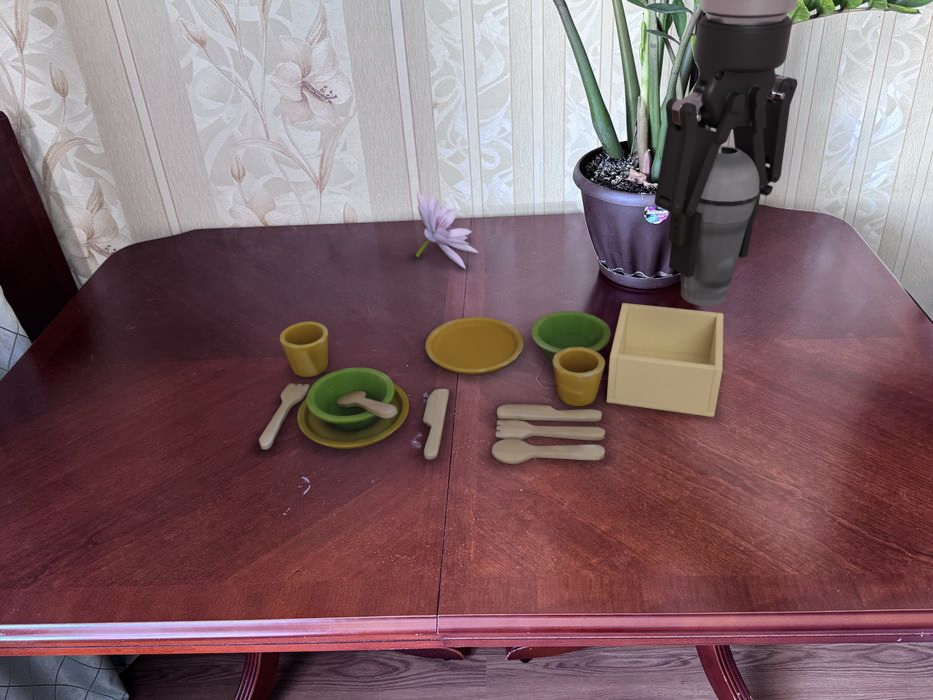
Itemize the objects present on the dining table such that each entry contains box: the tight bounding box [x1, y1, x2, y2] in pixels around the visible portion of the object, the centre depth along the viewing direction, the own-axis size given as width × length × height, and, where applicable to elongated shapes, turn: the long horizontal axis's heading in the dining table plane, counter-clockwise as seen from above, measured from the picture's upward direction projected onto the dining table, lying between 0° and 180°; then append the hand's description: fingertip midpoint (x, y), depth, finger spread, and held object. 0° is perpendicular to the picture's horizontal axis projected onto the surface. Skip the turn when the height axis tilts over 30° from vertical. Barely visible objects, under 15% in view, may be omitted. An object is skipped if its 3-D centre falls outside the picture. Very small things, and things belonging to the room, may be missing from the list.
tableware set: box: [258, 310, 612, 465], centre depth 89 cm, size 41×28×6 cm
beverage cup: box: [680, 129, 761, 307], centre depth 71 cm, size 7×7×20 cm
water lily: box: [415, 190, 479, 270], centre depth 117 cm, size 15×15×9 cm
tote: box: [606, 302, 724, 418], centre depth 87 cm, size 12×12×7 cm
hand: (708, 261), depth 74 cm, fingers closed on beverage cup, 6 cm apart
